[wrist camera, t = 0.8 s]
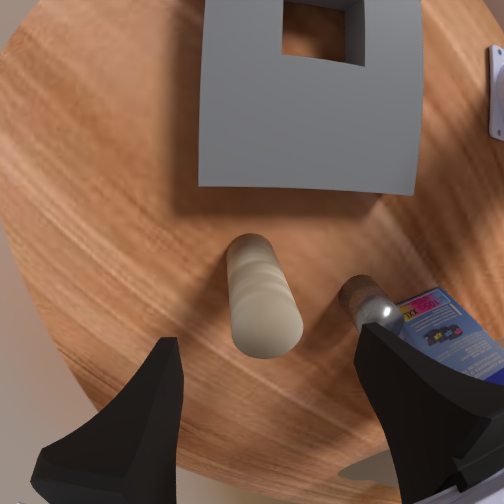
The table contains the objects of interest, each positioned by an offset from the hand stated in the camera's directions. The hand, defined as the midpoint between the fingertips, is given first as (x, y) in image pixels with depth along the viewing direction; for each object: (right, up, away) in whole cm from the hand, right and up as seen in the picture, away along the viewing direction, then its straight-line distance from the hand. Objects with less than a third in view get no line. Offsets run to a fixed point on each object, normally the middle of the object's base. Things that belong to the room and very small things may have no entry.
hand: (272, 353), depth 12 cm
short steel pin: (+7, +1, +11) cm, 13 cm away
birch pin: (-1, +4, +9) cm, 9 cm away
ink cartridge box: (+14, -4, +13) cm, 20 cm away
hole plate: (+3, +16, +4) cm, 17 cm away
